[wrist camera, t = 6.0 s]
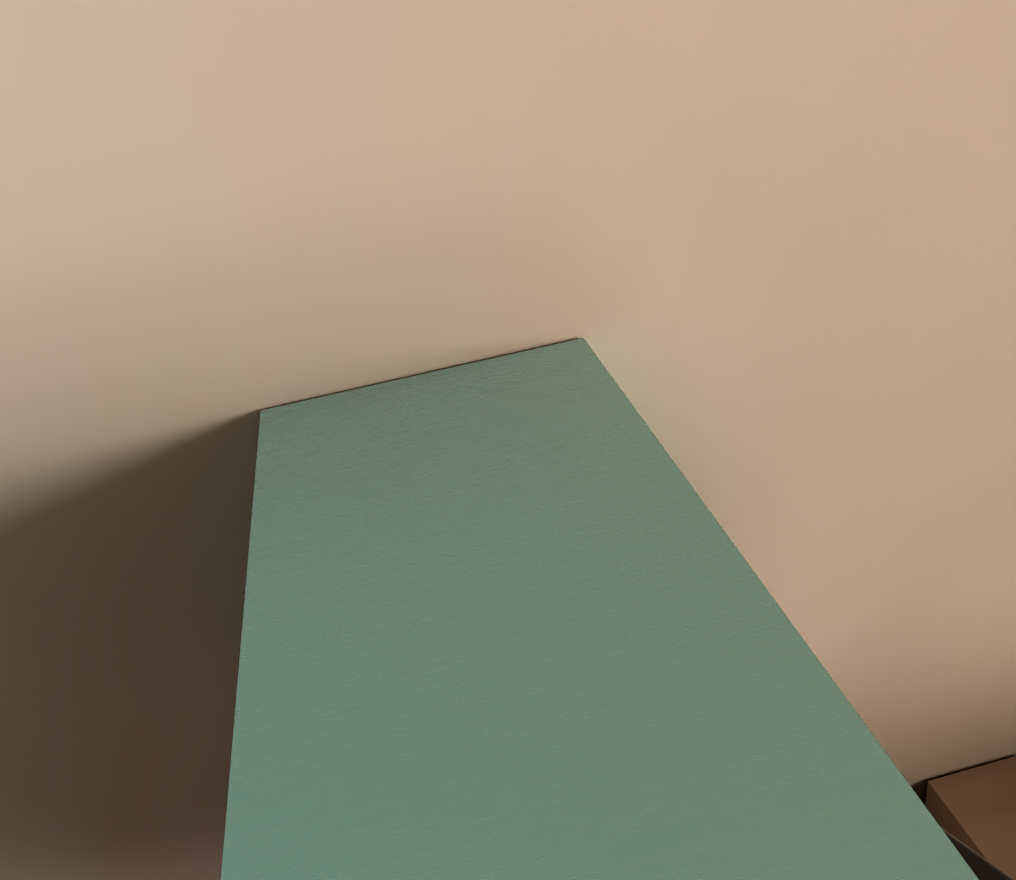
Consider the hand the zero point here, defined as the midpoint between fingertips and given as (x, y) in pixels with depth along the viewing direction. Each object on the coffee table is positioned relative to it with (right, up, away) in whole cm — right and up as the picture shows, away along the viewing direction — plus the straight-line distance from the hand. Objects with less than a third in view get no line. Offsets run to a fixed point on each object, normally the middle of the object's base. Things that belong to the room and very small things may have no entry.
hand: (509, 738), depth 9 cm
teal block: (0, -4, +4) cm, 5 cm away
